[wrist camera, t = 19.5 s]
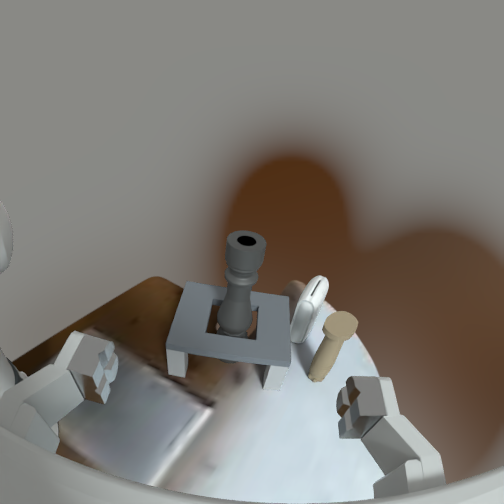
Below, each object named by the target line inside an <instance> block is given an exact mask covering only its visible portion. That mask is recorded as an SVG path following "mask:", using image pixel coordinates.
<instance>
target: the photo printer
mask: <svg viewBox="0 0 504 504" xmlns="http://www.w3.org/2000/svg"><path fill="white" fill-rule="evenodd" d="M328 287H329V283H328V280H327V279H326V278H325V277H322V276H316V277H314V278H313V279H312V280H311V281H310V282H309V283H308V284H307V286H306V287H305V289H304V291H303V292H302V294H301V296H300V298H299V300H298V303H297V306H296V309H295V312H294V315H293V319H292V322H291V325H290V339H291V341H292V342H294V343H303V342H304V341H305V339H306V338H307V336H308V335H309V333H310V331H311V330H312V328H313V326H314V324H315V322H316V320H317V317H318V315H319V312H320V309H321V307H322V304H323V301H324V299H325V296H326V294H327V291H328Z"/></svg>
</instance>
